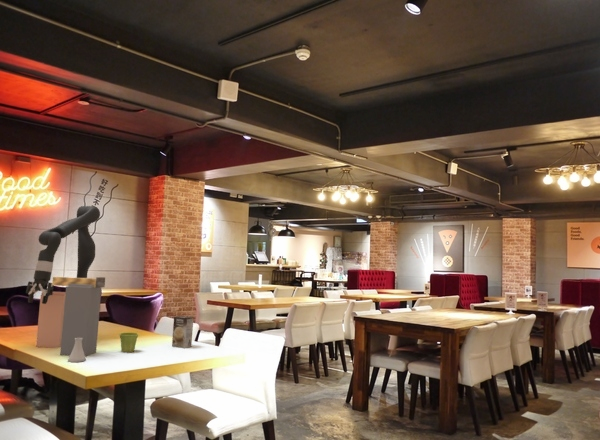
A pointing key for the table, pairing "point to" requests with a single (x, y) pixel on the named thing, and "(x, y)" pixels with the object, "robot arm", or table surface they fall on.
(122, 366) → the table surface
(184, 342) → the coffee box
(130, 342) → the plant pot
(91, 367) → the table surface
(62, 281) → the wooden pin
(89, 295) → the grey stand
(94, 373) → the table surface
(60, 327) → the block
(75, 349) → the flask
